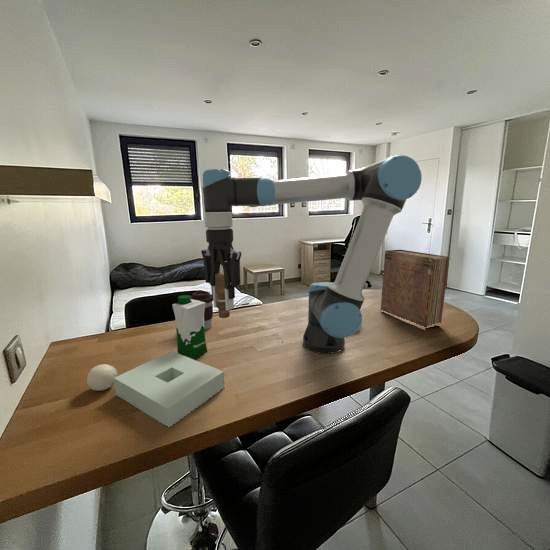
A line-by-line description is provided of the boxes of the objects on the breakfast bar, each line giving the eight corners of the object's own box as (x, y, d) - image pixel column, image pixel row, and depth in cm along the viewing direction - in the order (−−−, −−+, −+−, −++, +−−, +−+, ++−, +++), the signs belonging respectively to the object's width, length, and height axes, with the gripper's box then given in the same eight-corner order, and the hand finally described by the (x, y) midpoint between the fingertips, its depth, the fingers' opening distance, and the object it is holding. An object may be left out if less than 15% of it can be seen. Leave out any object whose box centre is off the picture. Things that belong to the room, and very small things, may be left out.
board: (224, 387, 80) (223, 371, 79) (169, 427, 65) (167, 408, 64) (172, 365, 91) (171, 350, 90) (116, 394, 77) (113, 378, 76)
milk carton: (193, 345, 105) (189, 292, 101) (211, 351, 101) (208, 296, 96) (173, 355, 98) (168, 298, 94) (192, 362, 93) (187, 303, 89)
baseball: (122, 387, 80) (119, 365, 79) (92, 399, 75) (89, 376, 74) (114, 377, 85) (111, 356, 83) (85, 388, 80) (82, 366, 78)
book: (441, 327, 121) (450, 256, 114) (425, 331, 117) (433, 258, 111) (394, 309, 143) (400, 249, 137) (380, 311, 140) (385, 250, 133)
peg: (234, 315, 87) (232, 273, 84) (224, 319, 84) (222, 275, 81) (223, 312, 89) (221, 271, 86) (214, 317, 86) (211, 274, 83)
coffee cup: (218, 323, 126) (216, 290, 123) (210, 332, 116) (209, 296, 113) (196, 322, 127) (194, 289, 124) (187, 331, 117) (184, 296, 114)
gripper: (251, 228, 79) (254, 308, 84) (207, 227, 88) (212, 300, 93) (233, 229, 73) (237, 316, 78) (188, 228, 82) (194, 306, 87)
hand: (223, 307), depth 86 cm, fingers closed on peg, 4 cm apart
